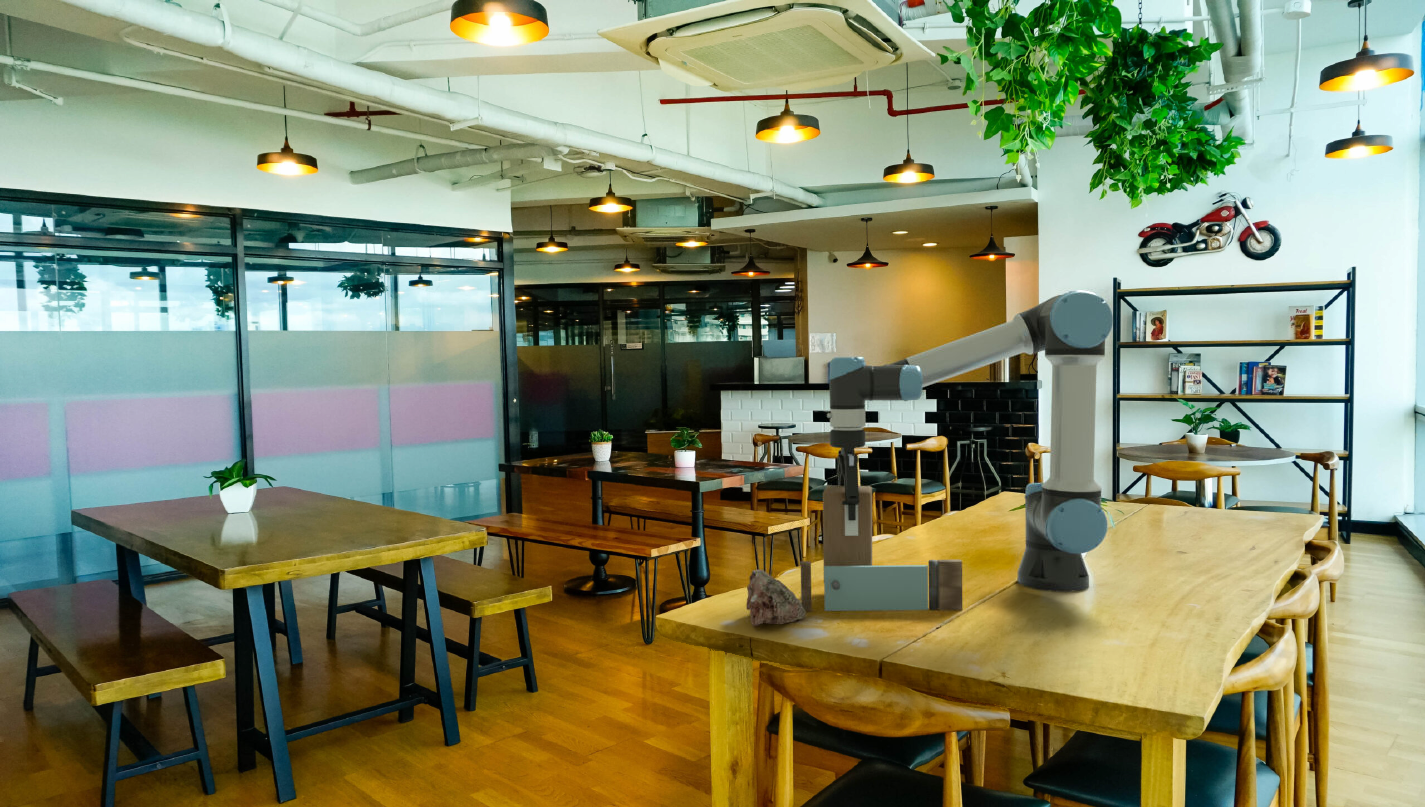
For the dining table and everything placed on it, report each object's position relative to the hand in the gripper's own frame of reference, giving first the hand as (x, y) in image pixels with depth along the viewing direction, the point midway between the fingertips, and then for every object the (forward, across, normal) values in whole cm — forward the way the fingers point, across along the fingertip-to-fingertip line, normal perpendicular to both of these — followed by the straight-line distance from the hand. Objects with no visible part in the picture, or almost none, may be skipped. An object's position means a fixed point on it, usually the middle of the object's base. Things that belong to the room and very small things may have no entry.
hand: (848, 530), depth 194 cm
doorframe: (+15, +10, +5) cm, 18 cm away
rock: (+15, +17, -17) cm, 29 cm away
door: (+15, +11, +4) cm, 19 cm away
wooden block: (+11, 0, 0) cm, 11 cm away
